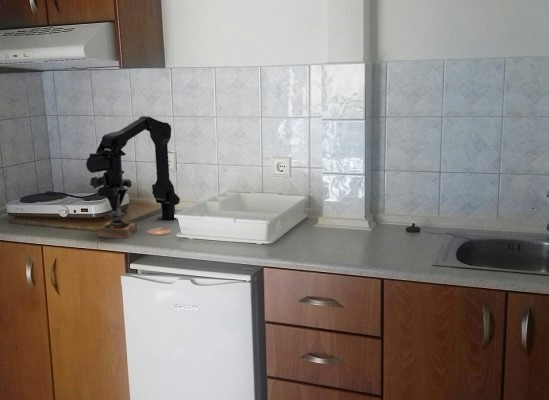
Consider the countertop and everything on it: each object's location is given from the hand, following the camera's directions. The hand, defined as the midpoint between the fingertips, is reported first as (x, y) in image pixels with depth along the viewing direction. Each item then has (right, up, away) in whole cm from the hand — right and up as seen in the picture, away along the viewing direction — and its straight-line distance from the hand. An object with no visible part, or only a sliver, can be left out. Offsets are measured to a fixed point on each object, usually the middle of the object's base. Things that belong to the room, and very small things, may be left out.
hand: (116, 210), depth 230 cm
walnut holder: (0, -9, +2) cm, 9 cm away
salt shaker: (0, -5, +1) cm, 5 cm away
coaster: (+15, -8, +4) cm, 18 cm away
